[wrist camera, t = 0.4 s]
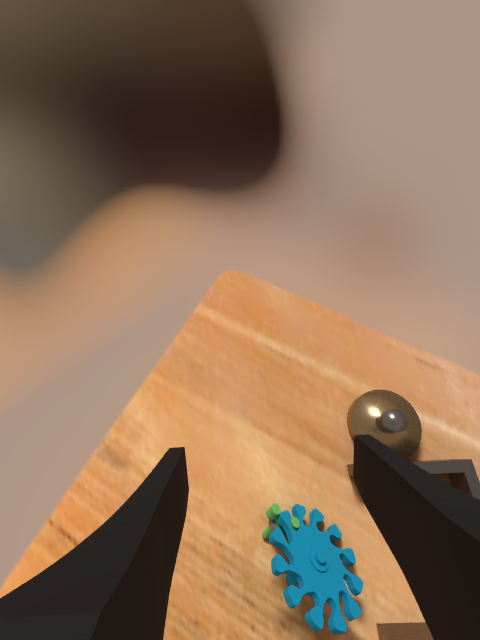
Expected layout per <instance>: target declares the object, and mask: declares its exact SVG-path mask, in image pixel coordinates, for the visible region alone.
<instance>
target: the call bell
mask: <svg viewBox="0 0 480 640" xmlns="http://www.w3.org/2000/svg"><path fill="white" fill-rule="evenodd" d="M347 423H348V429H349V432H350V434H351V437H352V438H353V440H354V437H355V435H365V434H369V435H371V436H373V437H374V438H376V439H377V440H379V441H380V442H382V443H383V444H385V445H386V446H388V447H389V448H391V449H392V450H394V451H395V452H397V453H398V454H400V455H401V456H403V457H405V458H406V457H408V456H409V455H411V454H412V453H413V452H414V451H415V450H416V449H417V447H418V445H419V443H420V440H421V434H422V429H421V423H420V420H419V417H418V415H417V413H416V411H415V410H414V408H413V407H412V406H411V404H410V403H409V402H408V401H407V400H405V399H404V398H403V397H401V396H400V395H398V394H396V393H394V392H391V391H387V390H373V391H369V392H367V393H365V394H363V395H362V396H360V397H359V398H357V399H356V400H355V401H354V402H353V403H352V405H351V406H350V409H349V412H348V417H347Z"/></svg>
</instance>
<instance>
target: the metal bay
mask: <svg viewBox="0 0 480 640" xmlns="http://www.w3.org/2000/svg"><path fill="white" fill-rule="evenodd" d="M411 462H412V463H414V464H415V465H417V466H419V467H420V468H422V469H423V470H425V471H427V472H428V473H430V474H439V473H449V475H450V478H451V481H452V485H453V487H455V488H457V489H459V490H461V491H463V492H465V493H467V494H469V495H471V496H473V497H475V498H477V499H479V500H480V482H479V479H478V477H477V474H476V471H475V468H474V465H473V463H472V460H471V459H450V460H430V461H411ZM347 467H348V473H349V476H352V477H353V464H351V465H347ZM377 629H378V634H379V640H434V639H433V637H432V635H431V633H430V630H429V628H428V626H427V624H426V623H389V624H377Z"/></svg>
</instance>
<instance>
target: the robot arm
mask: <svg viewBox="0 0 480 640" xmlns="http://www.w3.org/2000/svg"><path fill="white" fill-rule="evenodd" d="M353 478H354V481H355V483H356V485H357V488H358V490H359V493H360V495H361V497H362V499H363V502H364V504H365V505H366V507H367V509H368V511H369V513H370V514H371V516H372V518H373V520H374V522H375V523H376V525H377V527H378V529H379V530H380V532H381V534H382V536H383V537H384V539H385V541H386V543H387V544H388V546H389V548H390V550H391V551H392V553H393V555H394V557H395V558H396V560H397V562H398V564H399V566H400V568H401V570H402V572H403V573H404V576H405V578H406V580H407V582H408V584H409V586H410V588H411V591H412V593H413V595H414V597H415V599H416V601H417V603H418V606H419V608H420V610H421V612H422V615H423V617H424V619H425V621H426V624H427V626H428V628H429V630H430V633H431V635H432V637H433V639H434V640H480V500H479V499H477V498H475V497H473V496H471V495H469V494H467V493H465V492H463V491H461V490H459V489H457V488H455V487H453V486H451V485H449V484H448V483H446V482H444V481H442V480H440V479H439V478H437V477H435V476H434V475H432V474H430V473H428V472H427V471H425V470H423V469H422V468H420V467H419V466H417V465H415V464H414V463H412V462H411V461H409V460H408V459H406V458H405V457H403V456H401V455H400V454H398V453H397V452H395V451H394V450H392V449H391V448H389V447H388V446H386V445H385V444H383V443H382V442H380V441H379V440H377V439H376V438H374V437H373V436H371V435H369V434H365V435H355V437H354V464H353ZM188 493H189V485H188V476H187V466H186V457H185V448H184V447H179V448H170V449H169V450H168V451H167V452H166V453H165V455H164V456H163V457H162V459H161V460H160V461H159V463H158V464H157V465H156V467H155V468H154V469H153V470H152V472H151V473H150V474H149V475H148V477H147V478H146V479H145V480H144V481H143V483H142V484H141V485H140V486H139V487H138V489H137V490H136V491H135V492H134V493H133V494H132V495H131V496H130V498H129V499H128V500H127V501H126V502H125V503H124V504H123V505H122V506H121V507H120V508H119V509H118V510H117V511H116V512H115V513H114V514H113V515H112V516H111V517H110V518H109V519H108V520H107V521H106V522H105V523H104V524H103V525H102V526H100V527H99V528H98V529H97V530H96V531H94V532H93V533H92V534H91V535H90V536H88V537H87V538H86V539H85V540H84V541H82V542H81V543H80V544H79V545H78V546H76V547H75V548H74V549H73V550H71V551H70V552H69V553H67V554H66V555H65V556H63V557H62V558H61V559H59V560H58V561H56V562H55V563H54V564H52V565H51V566H49V567H48V568H47V569H45V570H44V571H42V572H41V573H39V574H38V575H36V576H35V577H33V578H32V579H30V580H29V581H27V582H26V583H24V584H22V585H21V586H19V587H18V588H16V589H15V590H13V591H11V592H10V593H8V594H7V595H5V596H3V597H2V598H0V640H163V635H164V628H165V621H166V613H167V606H168V599H169V592H170V587H171V581H172V576H173V572H174V567H175V563H176V558H177V554H178V549H179V545H180V540H181V536H182V531H183V527H184V522H185V517H186V511H187V502H188Z"/></svg>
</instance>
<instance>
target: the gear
mask: <svg viewBox="0 0 480 640" xmlns="http://www.w3.org/2000/svg"><path fill="white" fill-rule="evenodd" d="M280 511H281V510H280V507H279V506H278V505H277V504H273V505H272V506H271V507H270V508H269V509H268V510H267V511H266V516H267V518H268V519H269V527H268V528H267V529H266V530H265V531H264V532H263V537H264V539H268V538H269V542H270V543H271V544H272V545H273V546H276V547H278V548H280V549H281V550H282V551H283V552H284V553H285V555H286V556H287V558H288V559H289V561H290V565H289V564H288V563H287V562H286V561H285V559H284V558H283V557H282V556H281V555H276V556H274V557H273V558H272V561H271V566H272V573H273V574H274V575H276V576H279V575H281V574H288V575H287V576H286V581H287V584H288V585H289V587H287V588H286V589H285V590H284V591H283V594H284V597H285V600H286V602H287V605H288V606H289V608H290V609H292V608H294V607H295V606H297V605H298V604H299V603H300V601H301V598H302V596H303V595H310V596H311V597H312V598H313V600H314V604H315V606H314V608H312V609H310V610H309V611H307V612H306V614H305V621H306V623H307V624H308V625H309V627H310V628H311V629H313V630H314V631H315V632H317V631H319V630H320V629H322V628H323V625H324V620H323V607H324V604H325V602H327V603H328V604H329V605H330V608H331V615H330V617H329V619H328V626H329V630H330V631H331V632H332V633H334V634H343V633H345V632H347V625H346V622H345V620H344V618H343V615H342V613H341V609H340V605H339V595H340V597H341V598H342V600H343V606H344V614H345V616H346V618H347V619H348V621H352V620H354V619H355V618H357V617H359V616H360V614H361V613H362V612H361V609H360V607H359V605H358V604H357V603H356V602H355V601H354V599H353V598H352V597H351V595H350V594H349V592H348V590H347V588H346V585H345V583H344V580H345V581H346V583H347V585H348V588H349V590H350V592H351V593H352V594H353V595H354V596H357V595H359V594H360V593H361V592H362V589H363V582H362V580H361V579H360V578H359V577H358V576H356V575H353V574H352V573H350V572H349V571H348V570H347V569H346V568H345V566H344V565H343V564H342V562H341V561H340V559H341V560H342V561H343V562H344V564H345V565H346V566H349V567H350V566H352V565H353V564H355V563H356V561H355V556H354V553H353V550H352V549H350V548H347V549H339V548H338V547H336V546H334V545H333V544H332V543H331V541H330V539H331V540H332V541H337V540H338V539H339V538H341V536H342V535H341V533H340V531H339V529H338V527H337V526H336V525H335V524H333V525H331V526H330V527H329V528H328V529H327V532H321V531H319V530H318V528H317V525H318V524H319V523H321V522H322V521H323V519H324V516H323V515H322V514H321V513H320V512H319V511H318V510H317V509H316V508H315V509H314V510H313V511H312V512H311V513H310V524H309V526H306V525H305V524H304V523H303V516H304V515H305V513H306V510H305V507H303V506H301V505H298V504H295V505H294V506H293V507H292V514H293V516H294V517H292V518H291V515H290V513H289V511H283V512H281V513H280ZM343 579H344V580H343ZM297 583H298V584H299V588H297V587H296V586H294V585H295V584H297Z"/></svg>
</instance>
